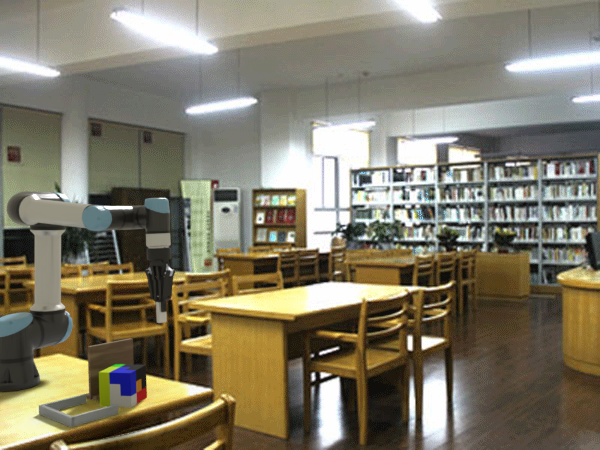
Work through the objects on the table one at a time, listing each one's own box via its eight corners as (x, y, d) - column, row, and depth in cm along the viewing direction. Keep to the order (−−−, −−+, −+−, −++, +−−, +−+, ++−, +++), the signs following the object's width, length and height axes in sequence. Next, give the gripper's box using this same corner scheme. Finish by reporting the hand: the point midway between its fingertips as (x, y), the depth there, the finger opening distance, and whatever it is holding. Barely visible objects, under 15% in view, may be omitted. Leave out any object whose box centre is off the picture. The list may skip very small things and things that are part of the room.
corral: (39, 414, 174) (38, 405, 174) (85, 402, 184) (84, 393, 184) (70, 427, 162) (70, 417, 162) (118, 413, 172) (117, 404, 172)
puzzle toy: (131, 407, 178) (130, 373, 178) (99, 406, 180) (98, 372, 180) (146, 397, 188) (145, 364, 188) (116, 396, 190) (115, 364, 190)
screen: (85, 397, 189) (83, 345, 189) (128, 386, 200) (126, 337, 200) (95, 401, 185) (93, 347, 185) (138, 389, 196) (137, 339, 196)
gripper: (181, 246, 192) (184, 322, 192) (156, 246, 201) (159, 319, 201) (161, 247, 186) (164, 325, 187) (136, 247, 195) (139, 322, 195)
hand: (161, 322), depth 194 cm, fingers closed
